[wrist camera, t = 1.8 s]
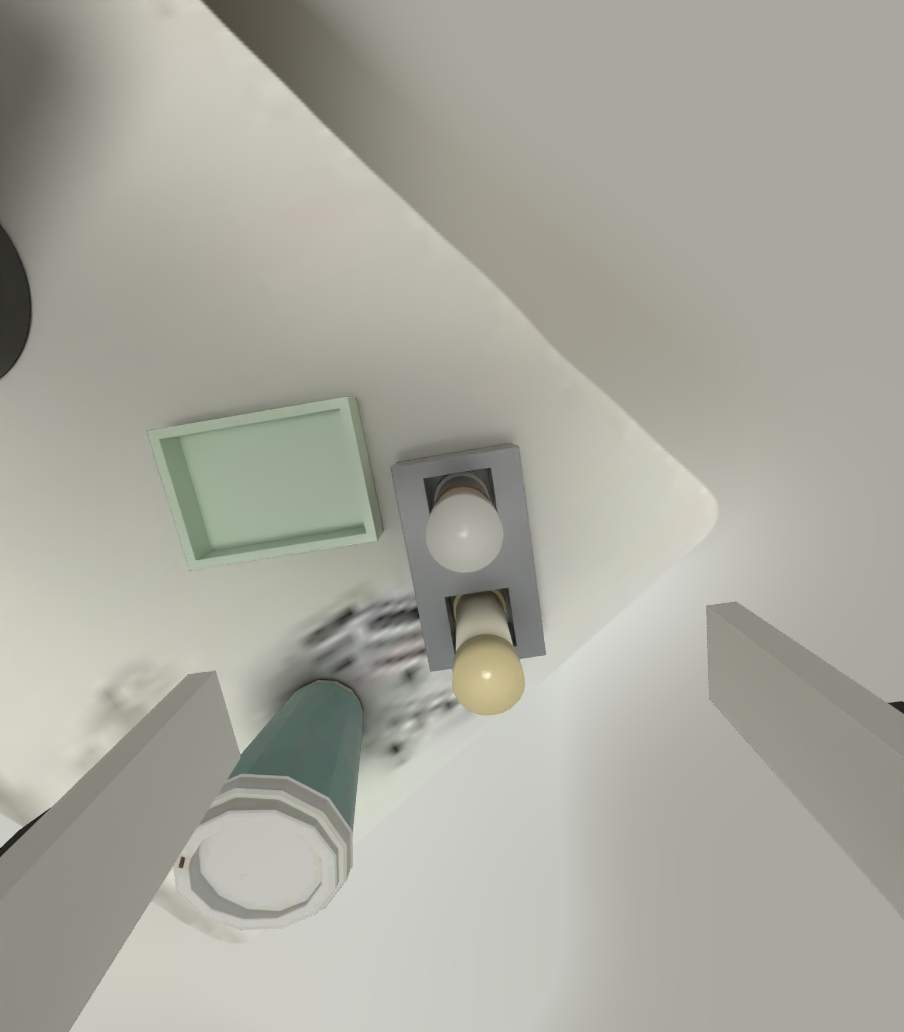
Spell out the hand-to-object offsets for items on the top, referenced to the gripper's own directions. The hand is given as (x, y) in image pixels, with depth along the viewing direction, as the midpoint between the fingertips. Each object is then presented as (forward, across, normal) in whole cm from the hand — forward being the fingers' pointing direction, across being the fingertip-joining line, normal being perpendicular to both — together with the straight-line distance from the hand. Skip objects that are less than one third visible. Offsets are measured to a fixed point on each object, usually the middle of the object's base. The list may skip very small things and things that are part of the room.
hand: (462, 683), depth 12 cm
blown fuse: (+25, 0, +1) cm, 25 cm away
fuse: (+25, 0, -8) cm, 26 cm away
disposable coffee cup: (+25, -14, -17) cm, 34 cm away
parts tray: (+25, -14, +4) cm, 29 cm away
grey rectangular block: (+25, 0, -4) cm, 25 cm away
